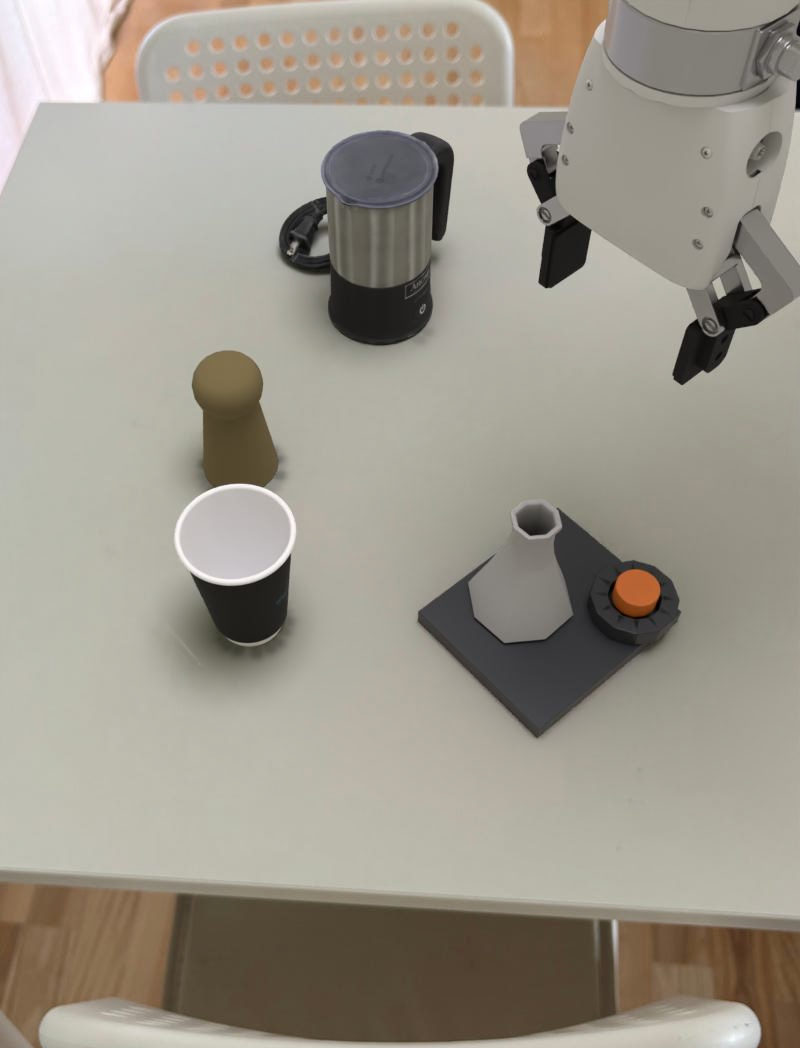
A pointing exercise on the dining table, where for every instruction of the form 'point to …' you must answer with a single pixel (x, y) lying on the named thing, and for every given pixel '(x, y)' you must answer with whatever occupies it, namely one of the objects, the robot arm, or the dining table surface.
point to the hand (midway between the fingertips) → (625, 320)
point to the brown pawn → (233, 420)
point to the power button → (636, 593)
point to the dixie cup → (239, 558)
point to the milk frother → (377, 230)
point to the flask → (524, 579)
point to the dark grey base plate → (555, 634)
